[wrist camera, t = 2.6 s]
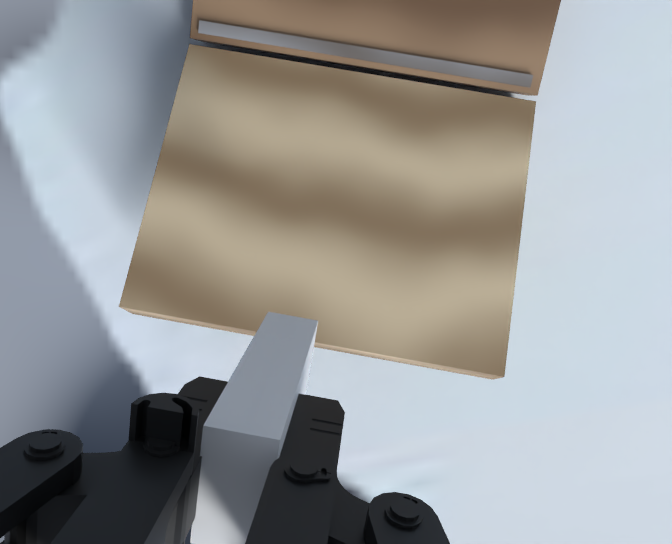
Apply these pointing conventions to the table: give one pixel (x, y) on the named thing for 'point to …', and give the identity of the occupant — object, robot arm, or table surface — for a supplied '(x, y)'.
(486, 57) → the walnut board
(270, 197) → the oak plank
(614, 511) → the table surface
